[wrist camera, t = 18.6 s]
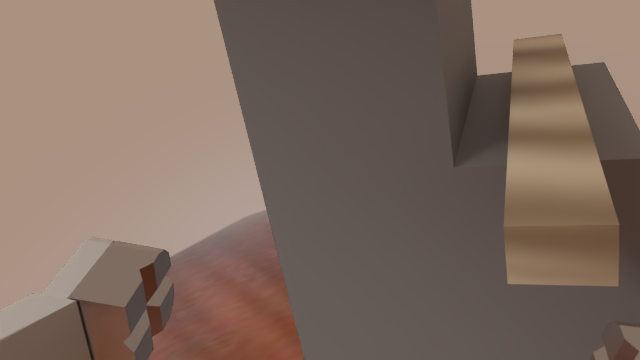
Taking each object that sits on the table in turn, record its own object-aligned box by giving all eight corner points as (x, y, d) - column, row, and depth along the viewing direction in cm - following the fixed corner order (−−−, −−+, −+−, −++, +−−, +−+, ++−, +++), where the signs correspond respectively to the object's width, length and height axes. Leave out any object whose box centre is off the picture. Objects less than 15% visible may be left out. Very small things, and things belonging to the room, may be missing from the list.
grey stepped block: (640, 456, 29) (668, -203, 18) (319, 419, 36) (192, -85, 24) (602, 280, 43) (605, -158, 32) (375, 276, 49) (310, -90, 38)
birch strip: (618, 286, 16) (619, 224, 15) (507, 283, 17) (503, 226, 16) (562, 63, 38) (561, 33, 37) (515, 68, 39) (513, 39, 39)
